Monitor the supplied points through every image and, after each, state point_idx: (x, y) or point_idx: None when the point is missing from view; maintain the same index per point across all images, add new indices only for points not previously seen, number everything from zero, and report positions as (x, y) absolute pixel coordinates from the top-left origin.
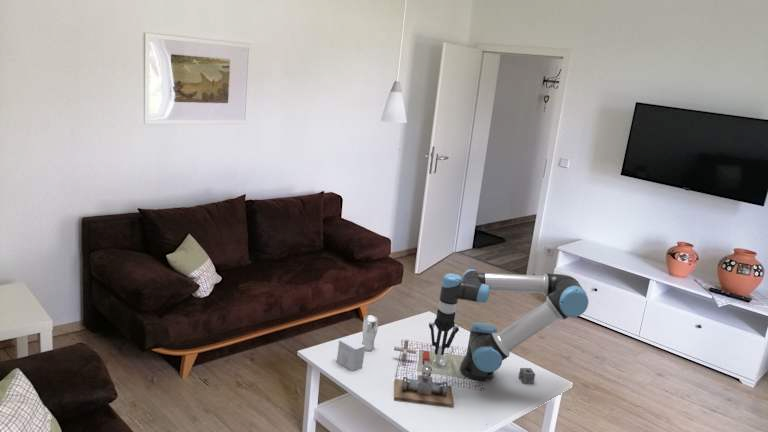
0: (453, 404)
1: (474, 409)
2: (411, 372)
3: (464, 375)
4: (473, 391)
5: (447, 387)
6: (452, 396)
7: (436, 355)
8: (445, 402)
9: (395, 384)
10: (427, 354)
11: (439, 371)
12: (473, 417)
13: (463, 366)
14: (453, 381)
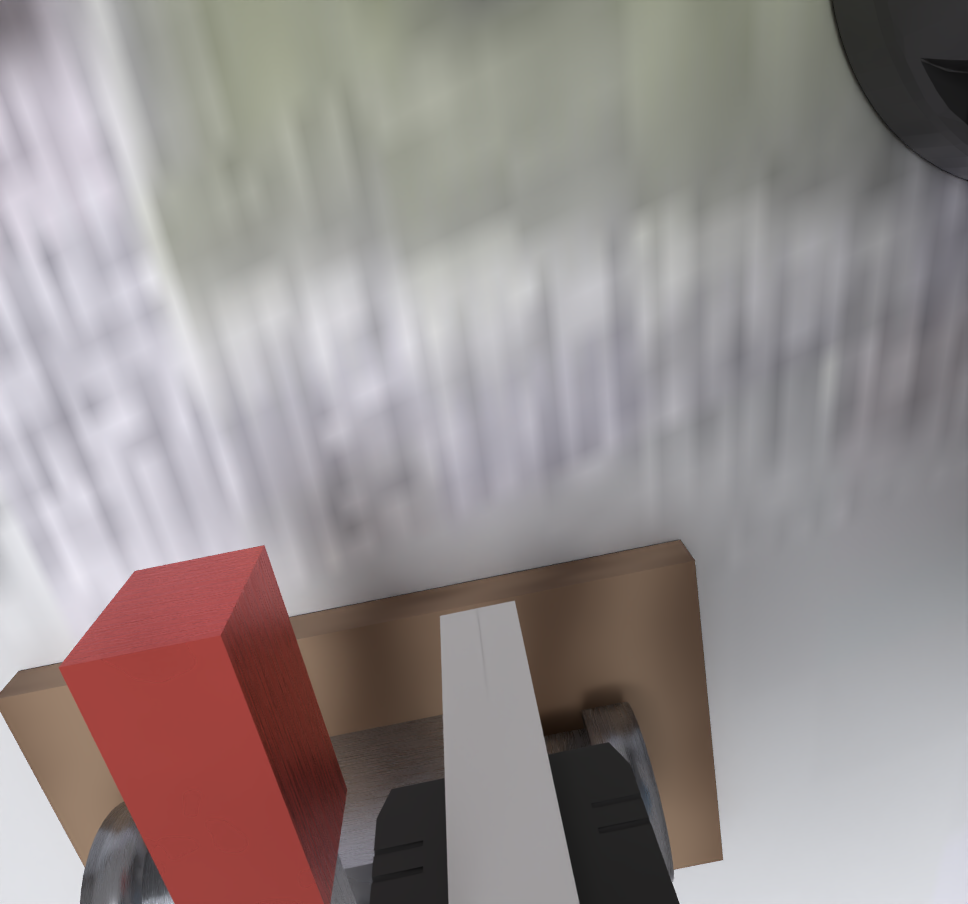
0: (718, 859)
1: (910, 776)
2: (122, 370)
3: (885, 120)
4: (951, 476)
5: (649, 614)
6: (709, 752)
7: (443, 683)
8: None
9: (55, 798)
10: (226, 780)
11: (500, 151)
12: (883, 878)
13: (934, 17)
14: (714, 352)
